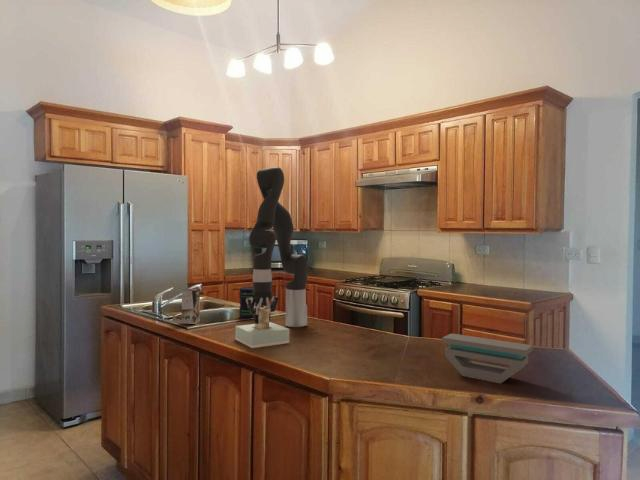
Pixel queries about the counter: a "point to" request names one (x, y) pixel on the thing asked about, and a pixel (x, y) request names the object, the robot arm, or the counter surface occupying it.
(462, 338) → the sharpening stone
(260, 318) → the peg
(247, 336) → the socket block
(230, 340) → the counter surface
